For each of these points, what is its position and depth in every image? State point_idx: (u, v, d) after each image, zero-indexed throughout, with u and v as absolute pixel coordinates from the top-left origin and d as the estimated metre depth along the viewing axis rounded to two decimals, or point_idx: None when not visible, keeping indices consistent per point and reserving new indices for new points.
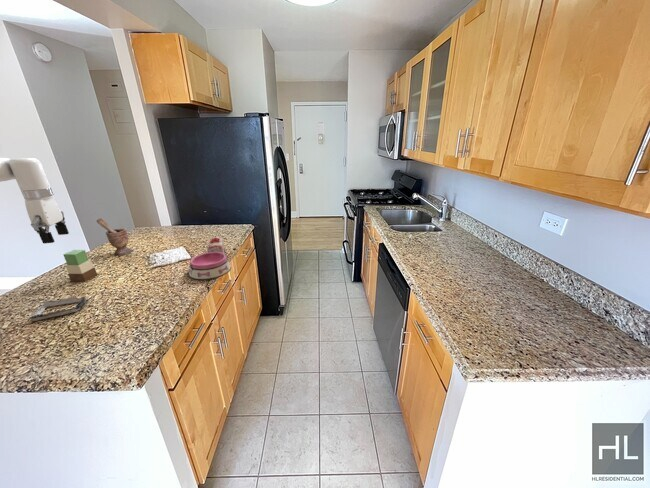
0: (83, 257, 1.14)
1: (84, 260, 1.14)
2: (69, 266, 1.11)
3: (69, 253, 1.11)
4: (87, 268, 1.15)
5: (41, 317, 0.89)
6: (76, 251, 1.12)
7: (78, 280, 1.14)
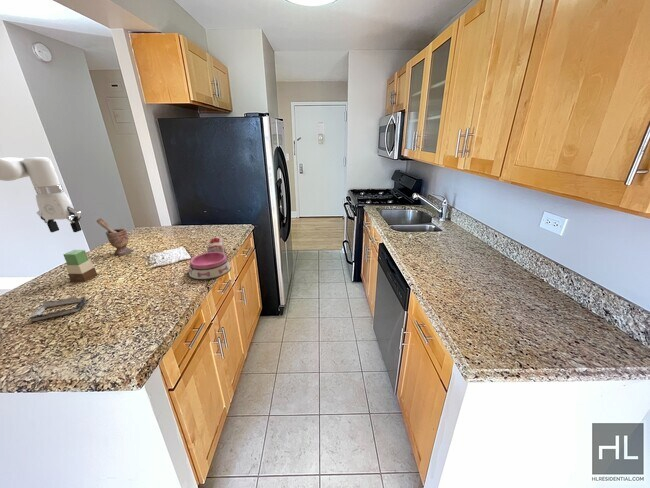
0: (83, 257, 1.14)
1: (84, 260, 1.14)
2: (69, 266, 1.11)
3: (69, 253, 1.11)
4: (87, 268, 1.15)
5: (41, 317, 0.89)
6: (76, 251, 1.12)
7: (78, 280, 1.14)
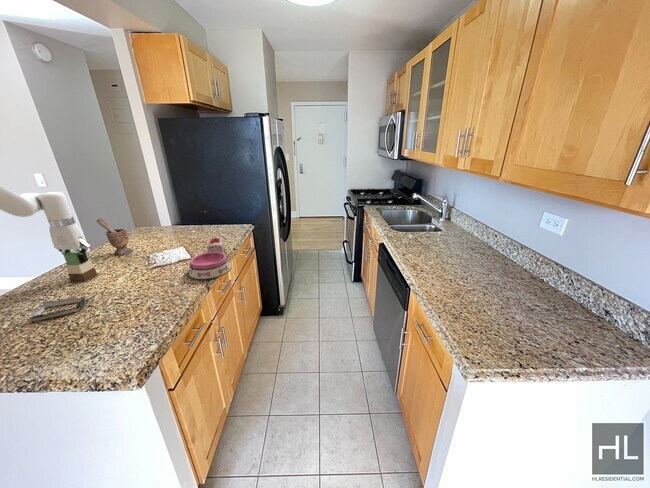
0: None
1: None
2: (69, 266, 1.11)
3: (69, 253, 1.11)
4: (87, 268, 1.15)
5: (41, 317, 0.89)
6: (76, 251, 1.12)
7: (78, 280, 1.14)
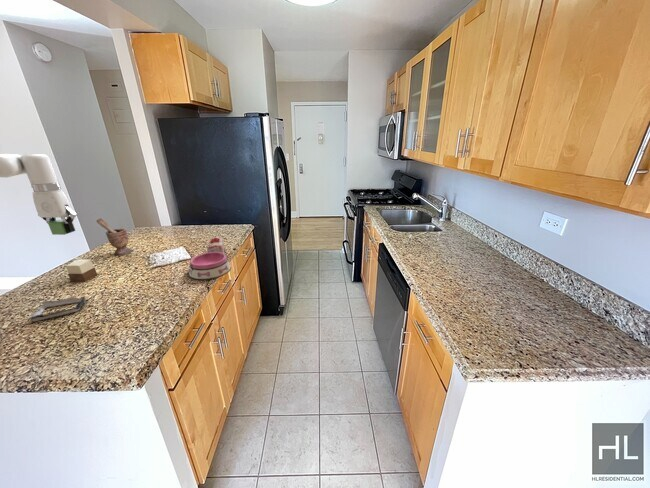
0: None
1: None
2: (69, 266, 1.11)
3: (54, 222, 1.04)
4: (87, 268, 1.15)
5: (41, 317, 0.89)
6: (62, 220, 1.06)
7: (78, 280, 1.14)
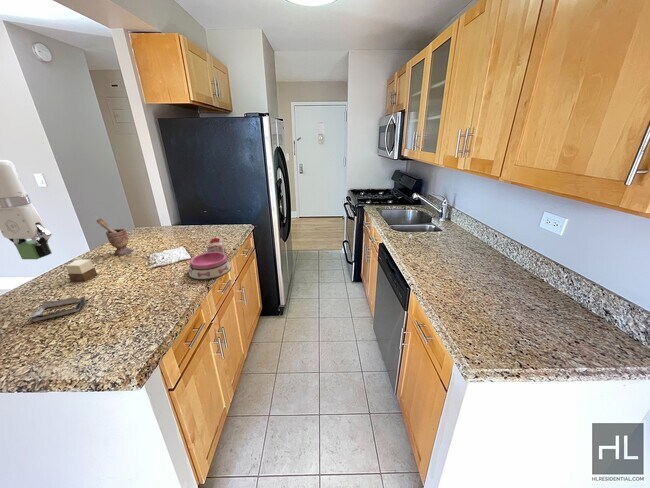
0: None
1: None
2: (69, 266, 1.11)
3: (24, 244, 0.84)
4: (87, 268, 1.15)
5: (41, 318, 0.89)
6: None
7: (78, 280, 1.14)
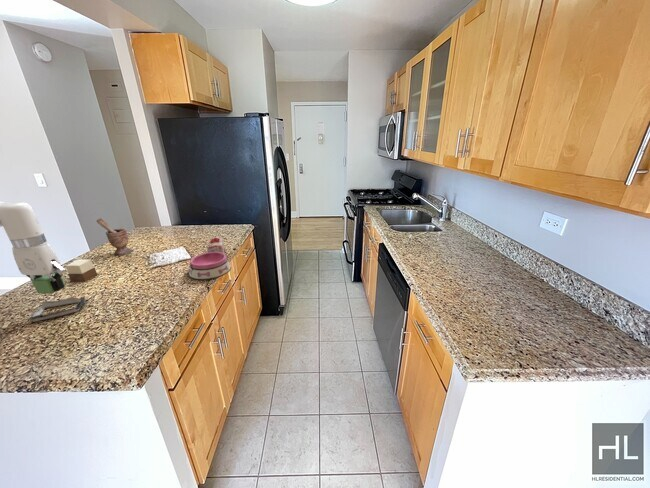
0: None
1: None
2: (69, 266, 1.11)
3: (39, 279, 0.88)
4: (87, 268, 1.15)
5: (41, 318, 0.89)
6: None
7: (78, 280, 1.14)
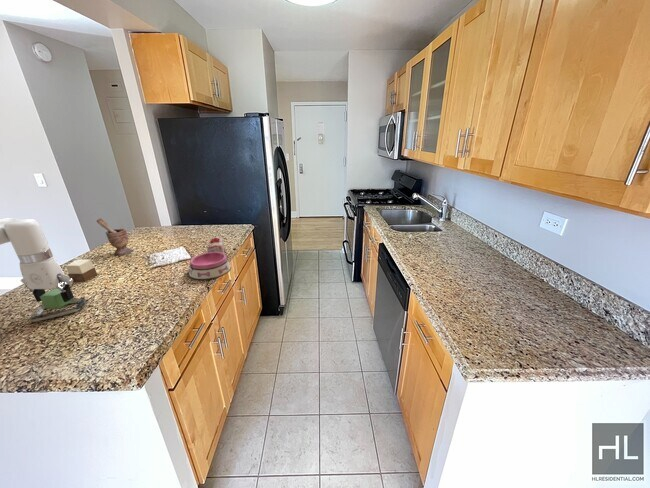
0: None
1: None
2: (69, 266, 1.11)
3: (47, 294, 0.90)
4: (87, 268, 1.15)
5: (41, 318, 0.89)
6: (56, 291, 0.92)
7: (78, 280, 1.14)
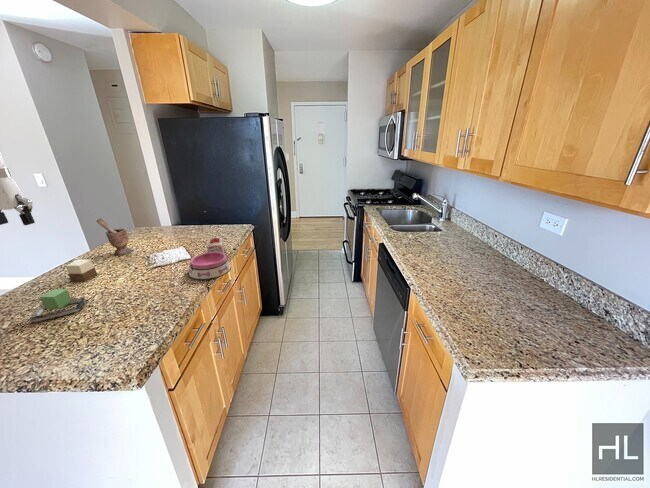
0: (65, 298, 0.93)
1: (66, 302, 0.93)
2: (69, 266, 1.11)
3: (47, 295, 0.90)
4: (87, 268, 1.15)
5: (41, 318, 0.89)
6: (56, 292, 0.92)
7: (78, 280, 1.14)
